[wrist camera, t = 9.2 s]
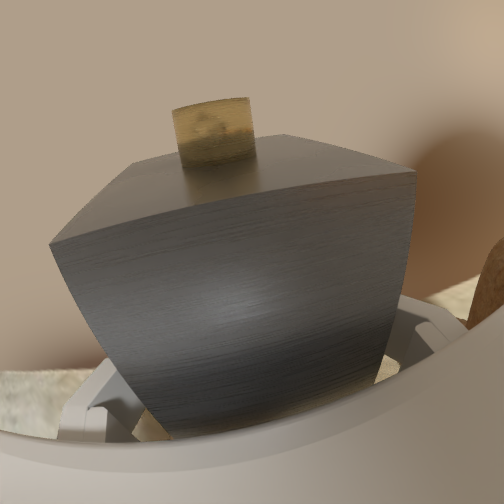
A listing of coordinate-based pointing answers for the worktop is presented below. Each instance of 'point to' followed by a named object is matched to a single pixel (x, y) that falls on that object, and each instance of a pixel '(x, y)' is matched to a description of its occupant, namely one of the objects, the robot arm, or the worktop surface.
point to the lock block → (242, 271)
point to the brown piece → (488, 288)
